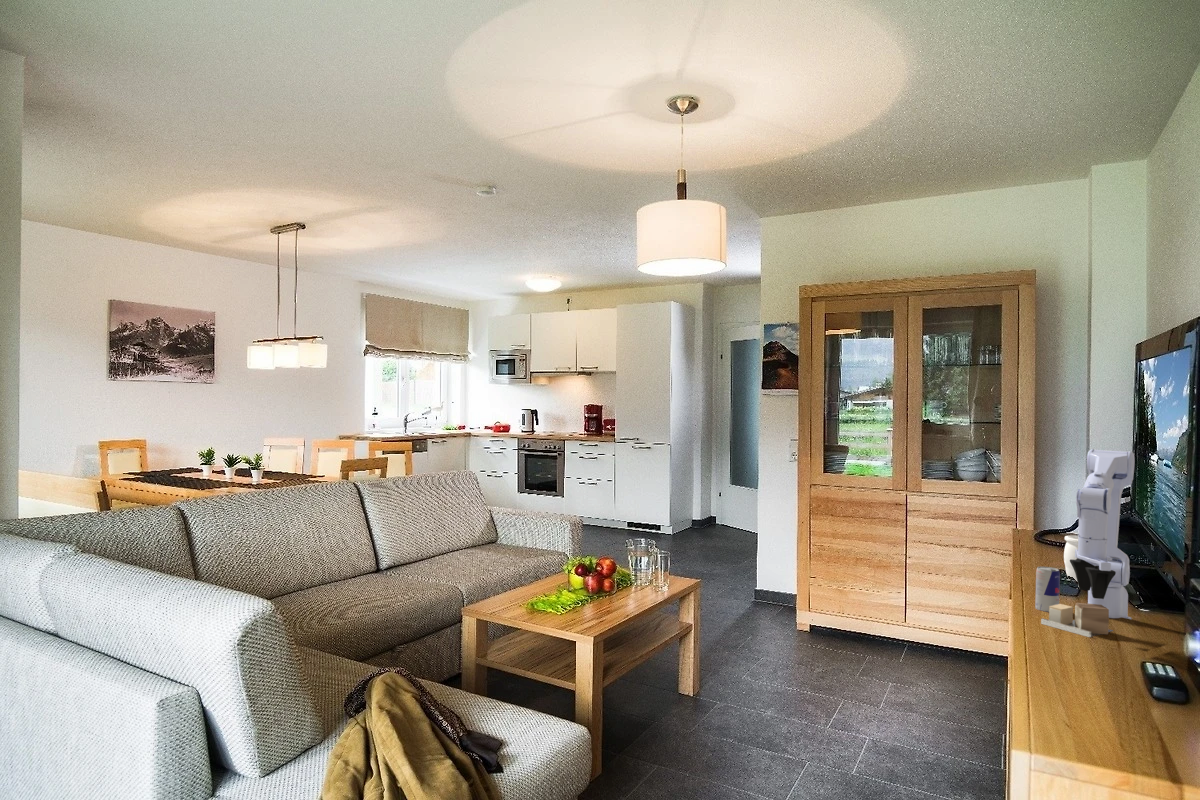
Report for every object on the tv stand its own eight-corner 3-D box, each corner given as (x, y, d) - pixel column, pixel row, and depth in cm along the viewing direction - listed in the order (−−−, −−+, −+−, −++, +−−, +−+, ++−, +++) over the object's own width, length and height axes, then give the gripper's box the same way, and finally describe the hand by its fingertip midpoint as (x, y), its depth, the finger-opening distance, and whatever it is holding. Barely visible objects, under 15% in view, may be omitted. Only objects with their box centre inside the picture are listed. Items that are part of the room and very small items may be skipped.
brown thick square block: (1074, 627, 175) (1074, 602, 175) (1100, 629, 174) (1101, 604, 174) (1081, 632, 171) (1081, 607, 171) (1108, 634, 170) (1108, 609, 170)
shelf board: (1065, 622, 183) (1065, 613, 183) (1113, 635, 173) (1113, 625, 173) (1040, 628, 177) (1041, 618, 177) (1089, 642, 168) (1089, 632, 168)
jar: (1098, 584, 222) (1099, 536, 222) (1110, 593, 213) (1111, 542, 213) (1059, 581, 226) (1060, 533, 226) (1068, 589, 216) (1069, 539, 216)
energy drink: (1062, 617, 187) (1063, 571, 187) (1039, 615, 188) (1041, 570, 188) (1053, 611, 192) (1054, 567, 192) (1031, 610, 193) (1033, 565, 193)
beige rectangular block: (1059, 619, 181) (1060, 603, 181) (1072, 622, 178) (1072, 606, 178) (1048, 622, 179) (1048, 606, 179) (1060, 625, 176) (1061, 609, 176)
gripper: (1126, 544, 165) (1124, 603, 165) (1097, 533, 179) (1096, 587, 179) (1091, 542, 166) (1090, 601, 166) (1066, 531, 180) (1064, 585, 180)
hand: (1091, 594), depth 173 cm, fingers open, 7 cm apart
